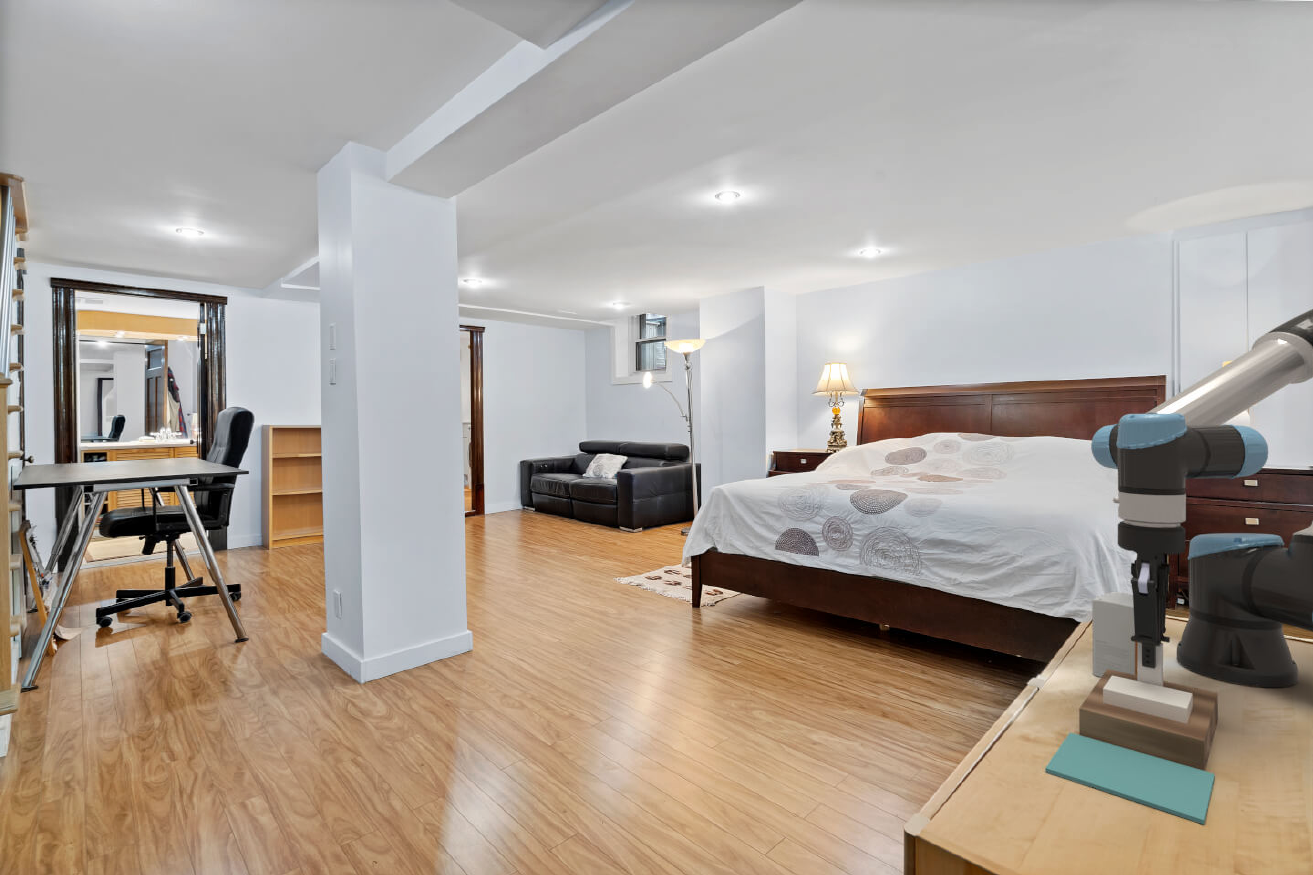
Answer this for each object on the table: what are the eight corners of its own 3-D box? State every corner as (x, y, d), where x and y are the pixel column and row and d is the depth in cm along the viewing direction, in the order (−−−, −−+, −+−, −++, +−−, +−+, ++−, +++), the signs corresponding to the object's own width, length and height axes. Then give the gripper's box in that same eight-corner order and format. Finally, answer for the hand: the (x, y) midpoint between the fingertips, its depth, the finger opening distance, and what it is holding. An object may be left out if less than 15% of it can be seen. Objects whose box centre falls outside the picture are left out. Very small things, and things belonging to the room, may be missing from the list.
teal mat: (1069, 735, 87) (1069, 732, 87) (1214, 777, 76) (1214, 773, 76) (1045, 771, 79) (1045, 767, 79) (1204, 824, 68) (1204, 820, 68)
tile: (1112, 688, 92) (1111, 675, 92) (1192, 707, 86) (1192, 693, 86) (1103, 702, 88) (1102, 688, 88) (1187, 723, 82) (1186, 708, 81)
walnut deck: (1107, 693, 99) (1107, 668, 99) (1217, 720, 90) (1217, 692, 90) (1079, 736, 87) (1079, 708, 87) (1204, 772, 77) (1204, 740, 77)
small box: (1136, 688, 101) (1135, 607, 101) (1091, 675, 106) (1090, 598, 106) (1156, 675, 106) (1155, 598, 105) (1112, 663, 111) (1111, 590, 110)
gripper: (1127, 514, 96) (1126, 667, 97) (1108, 525, 87) (1108, 694, 88) (1191, 519, 91) (1190, 680, 92) (1178, 531, 82) (1177, 711, 83)
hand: (1150, 687), depth 90 cm, fingers closed
